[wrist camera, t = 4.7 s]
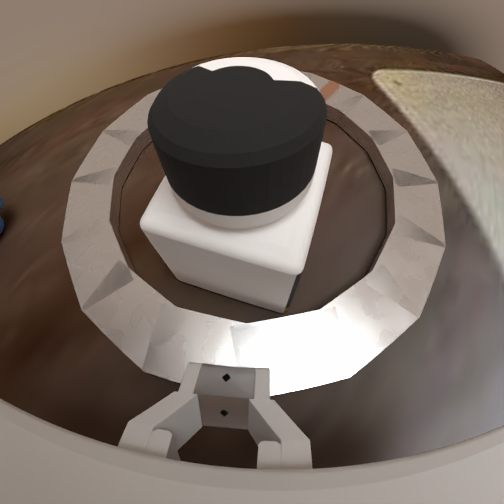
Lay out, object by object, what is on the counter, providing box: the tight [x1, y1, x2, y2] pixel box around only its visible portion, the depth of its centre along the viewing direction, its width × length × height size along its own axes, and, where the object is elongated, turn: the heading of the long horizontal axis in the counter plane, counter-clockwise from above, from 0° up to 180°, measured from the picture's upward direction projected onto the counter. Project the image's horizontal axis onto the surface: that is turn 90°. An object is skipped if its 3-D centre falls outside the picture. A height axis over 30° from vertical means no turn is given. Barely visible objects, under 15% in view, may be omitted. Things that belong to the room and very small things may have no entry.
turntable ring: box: [61, 71, 445, 396], centre depth 20 cm, size 28×28×2 cm
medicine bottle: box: [140, 57, 332, 313], centre depth 14 cm, size 7×7×12 cm
